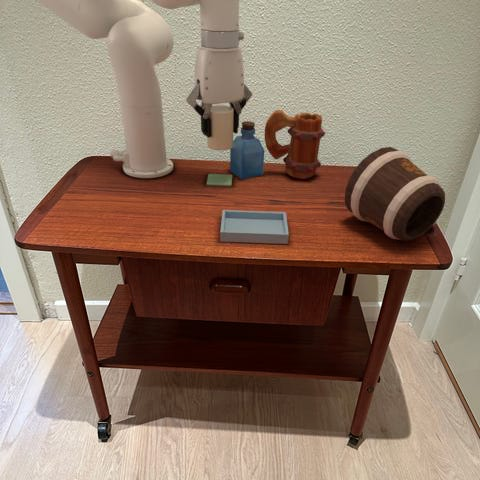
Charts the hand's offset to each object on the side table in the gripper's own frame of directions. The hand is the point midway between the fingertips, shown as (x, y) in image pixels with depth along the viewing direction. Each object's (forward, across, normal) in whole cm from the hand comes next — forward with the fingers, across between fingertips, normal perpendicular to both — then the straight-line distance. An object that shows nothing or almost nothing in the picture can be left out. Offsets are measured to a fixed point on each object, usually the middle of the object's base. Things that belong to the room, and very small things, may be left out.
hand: (220, 132), depth 97 cm
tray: (+11, +5, +25) cm, 28 cm away
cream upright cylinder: (+3, 0, 0) cm, 3 cm away
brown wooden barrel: (+5, -22, +29) cm, 37 cm away
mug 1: (+12, -18, +4) cm, 22 cm away
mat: (+11, 0, 0) cm, 11 cm away
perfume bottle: (+12, -8, -2) cm, 14 cm away
